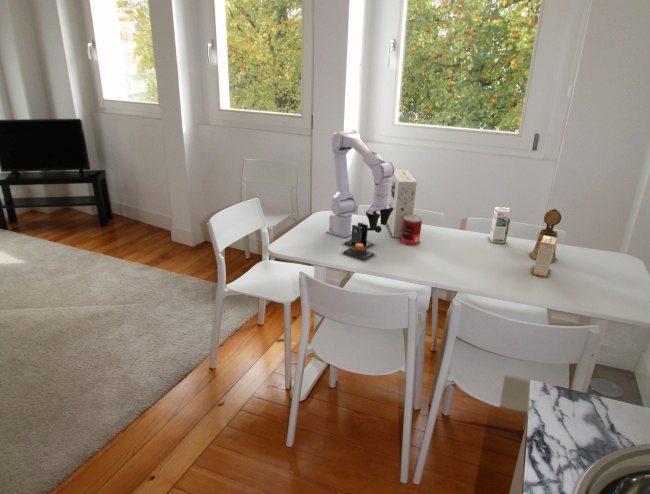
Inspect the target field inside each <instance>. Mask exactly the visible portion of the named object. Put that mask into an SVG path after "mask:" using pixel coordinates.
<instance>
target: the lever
mask: <svg viewBox="0 0 650 494" xmlns="http://www.w3.org/2000/svg"><path fill="white" fill-rule="evenodd" d="M359 227H362V232H364V231H367V232H369V231H370V232H376V233H378V234H379V233H381V232H382V230H383V229H382V226H381V225H377V227H376V230H372V229H370V227H368V228H364V226H359Z"/></svg>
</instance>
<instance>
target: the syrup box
mask: <svg viewBox="0 0 650 494" xmlns="http://www.w3.org/2000/svg"><path fill="white" fill-rule="evenodd" d="M493 210H494V212H493V217H492V222H491V227H490V234H489V239H490V242H491V243H492V244H493V243H496V244H507V243H506V242H507V237H508V233H509V227H510V222H511V219H512V210H511V208H510V207H498V206H495V207H494V209H493Z"/></svg>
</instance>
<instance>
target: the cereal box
mask: <svg viewBox="0 0 650 494" xmlns="http://www.w3.org/2000/svg"><path fill="white" fill-rule="evenodd" d="M417 184H418V182H417V180H416V179H415V178H414V176H413V175H412V174H411V172H410V171H409V170H408V169H394V174H393V176H392V177H390V186H389V196H388V201H392V206H391V207H392V208H393V211H392V212H391V214H390V216H389V218H388V221H387V225H388V228H389V231H390V233H391V235H392V237H393V238H401V236H402V227H403V218H404V216H405V215H414V210H415V201H416V192H417Z"/></svg>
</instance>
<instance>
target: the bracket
mask: <svg viewBox="0 0 650 494" xmlns="http://www.w3.org/2000/svg"><path fill="white" fill-rule="evenodd" d="M359 226H364V228H369V225H368V224H365V223H362V222H360V221H359V222H357V225H356V224H351V231H352V234H351V239H349V240H347V241H345V242H344V245H345V246H348V247H350V248H351V247H352V246H354V245H355V244H357V243H361V244H363V246H365V247H367V249H368V248H370V247H372V246H373V245H374V242H371V241H368V231H364V232H362V227H359Z"/></svg>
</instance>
